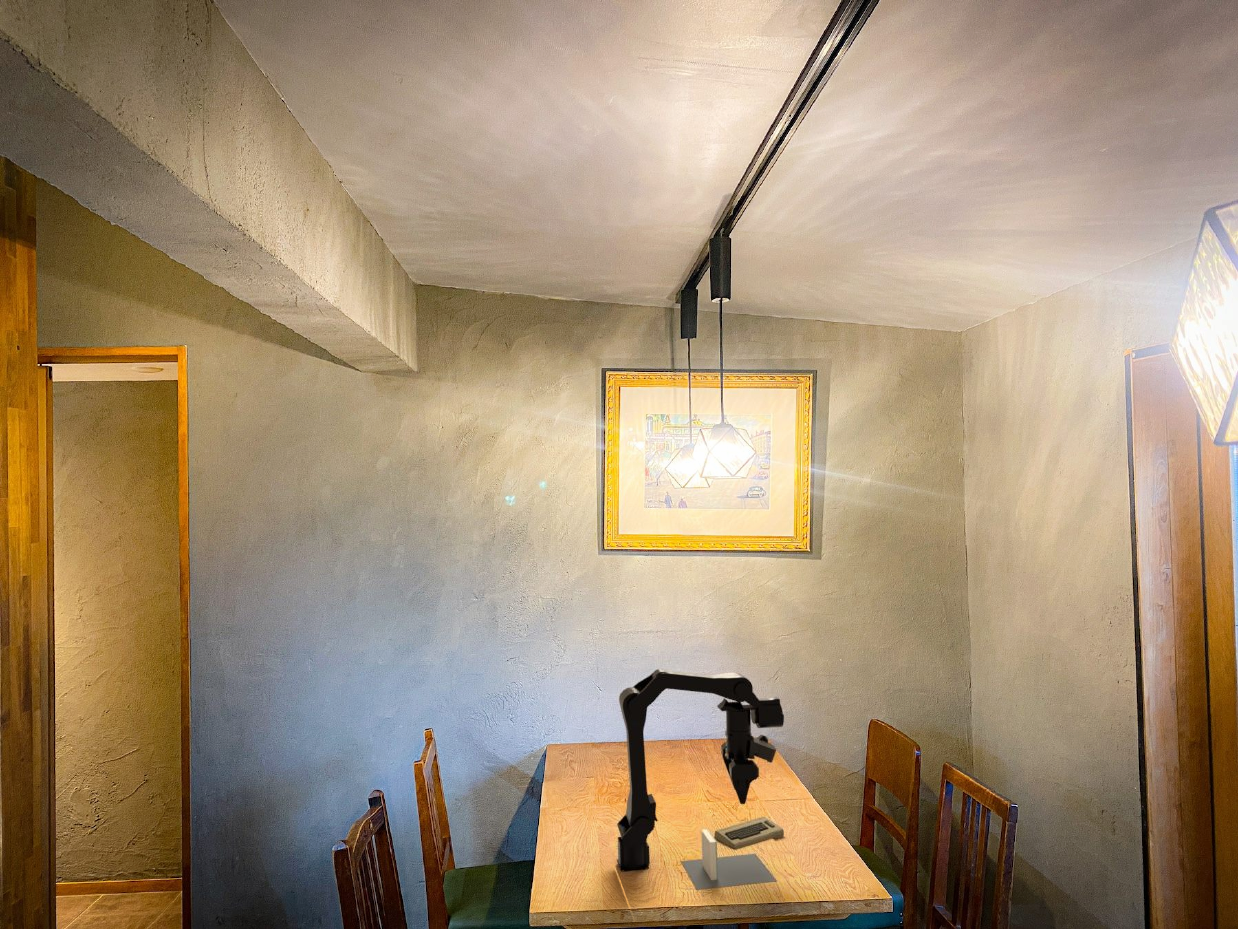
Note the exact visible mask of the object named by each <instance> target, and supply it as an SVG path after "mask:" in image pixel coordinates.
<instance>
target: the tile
mask: <svg viewBox="0 0 1238 929" xmlns="http://www.w3.org/2000/svg"><path fill="white" fill-rule="evenodd" d="M701 853H702V854H701V855H702V856H701V859H702V864H703V868H704V869H705V871H706V872H707V874H708V876H709V877H710V879H711V880H718V866H717V857H718V841H717V839H716V838H714V836H713V834H712V833H711V832H710V830H709V829H708V828H707V829H701Z"/></svg>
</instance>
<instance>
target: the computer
mask: <svg viewBox="0 0 1238 929" xmlns="http://www.w3.org/2000/svg"><path fill="white" fill-rule="evenodd" d="M784 834H785V830H784V829H783V827H782V826H780V825H779V824H777V823H776V822H774V821H773V820H772V819H769V818H768V817H766V816H760V817H757V818H753V819H750V820H746V821H743V822H740V823H736V824H733V825H730V826H726V827H724V828H720V829H716V830H715V831H714V836H713V837H714V839H715V840H718V841H720V842H721V843H723V844H725V845H727V846H729V847H730V848H732V849H735V850H737V849H739V848H743V847H747V846H750V845H753V844H756V843H759V842H762V841H766V840H769V839H773V840H775V839H779V838H781V837H784Z"/></svg>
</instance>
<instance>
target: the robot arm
mask: <svg viewBox="0 0 1238 929" xmlns="http://www.w3.org/2000/svg"><path fill="white" fill-rule="evenodd" d="M753 688H754V687H753V684H752V682H751V681H750V679H748V678H747V677H746V676H744V675H743V674H741V673H739V672H722V673H718V674H702V673H695V672H694V673H693V672H686V671H685V672H684V671H683V672H682V671H674V670H666V669H663V668H657V669H655V670H654V671H653V672H652V673H651V674H650V675H648V676H647V677H645V678H643V679H642V680H640V681H638V682H637V683H636V684H635V685H633V686H631V687H626V688H625V689H623V691H621V692H620V693H619V698H618V702H619V707H620V712H621V716H622V719H623V723H624V727H625V731H626V747H627V763H628V776H629V777H628V778H629V779H628V780H629V782H628V783H629V791H628V792H629V793H628V796H627V801H626V809H625V810H626V811H625V814H624V815H623V817H622V818H621V819H619V821H618V822H617V823H616V825H617V829H618V831H619V836H617V858H616V863H617V865H618V867H619V870H620V872H622V873H626V872H636V871H644V870H649V869H650V867H649V865H650V863H651V862H650V860H651V859H650V845H649V844H648V836H649V835H650V834H651V833H652V832H653V831H654V829H655V827H656V826H655V824H656V822H658V821H659V820H658V818H657V815H656V811H657V801H656V800H655V798H654V795H653V794H652V793H649V794H648V787H647V786H648V785H647V784H648V783H647V782H648V781H647V770H646V768H647V766H646V755H645V754H646V753H645V751H646V750H645V739H644V738H645V737H644V729H645V725H646V720H647V713H648V708H649V706H650V705H651V704H653V703H654V702H655V701H656V700H657V699H658V697H659V696H660V695H661V694H662V693H663V692H664V691H665V690H667V689H668V690H675V691H677V690H678V691H686V692H687V691H688V692H695V693H696V692H697V693H703V694H704V693H706V694H713V695H717V696H719V697H722V698H723V699H722V701H721V702H719V704H717V705H716V706H717V708H718V709H719V710H720V711H721V712H725V713H726V714H725V716H726V717H725V718H726V720H725V724H726V726H725V727H726V730H724V735H725V737H726V741H724V742H723V743H722V744H721V746H720V750H721V751H720V753H721V756H722V760H723V763H724V765H725V768H726V771H727V773H728V776H729V778H730V781H731V784H732V786H733V789H734V790H735V792H736V795H737V798H738V801H739V803H740V805H745V804H746V802H747V797H748V793H749V790H750V785H751V784H752V782H754V781H756V780H757V779H758V778H759V777H760V769H759V767H758V764H757V763H756V762H755V761H754V760H755V757H756V758H759V759H762V760H764V761H766V762H767V763H771V764H773V761H774V758H775V755H776V753H777V748H776V747H775V745H774V744H772V742H769V739H768V736H767V735H763V734H759V735H758V737H754V735H753V734H752V728H751V727H752V724H753V725H755V726H756V728H758V729H770V728H782V727H783V726H784V723H785V714H784V713H783V712H784V711H783V708H782V704H781V699H780V698H779V697H777V696H773V697H769V698H768V697H767V698H765V697H763V698H759V697H757V695H756V694H755V693H754V690H753ZM728 700H729V701H728ZM731 700H732V701H731ZM744 702H745V703H747V704H742V703H744Z"/></svg>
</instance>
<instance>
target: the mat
mask: <svg viewBox="0 0 1238 929" xmlns="http://www.w3.org/2000/svg"><path fill="white" fill-rule="evenodd" d="M680 863H681V865H682V867H683V869H684V870H685V872H686V874H687V875H688V878H689V879H690V881H691V883H692V884H693V886H694V888H695V890H696V891H699V890H700V891H701V890H709V889H718V888H729V887H730V888H731V887H738V886H746V885H747V886H748V885H754V884H755V885H756V884H764V883H765V884H767V883H775V882H778V880H777V879H776V877H775V876H774V875H773V874H772V873H771V871H770V869H768V868H767V866H766V865H765V864H764V862H763V861H762V860H761V859H760V858H759V856H758V855H757V853H748V854H739V855H728V856H717V866H718V880H711V879H710V877H709V876H708V874H707V872H706V871H705V869H704V868H703V864H702V858H700V859H688V860H687V859H686V860H681V861H680Z"/></svg>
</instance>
